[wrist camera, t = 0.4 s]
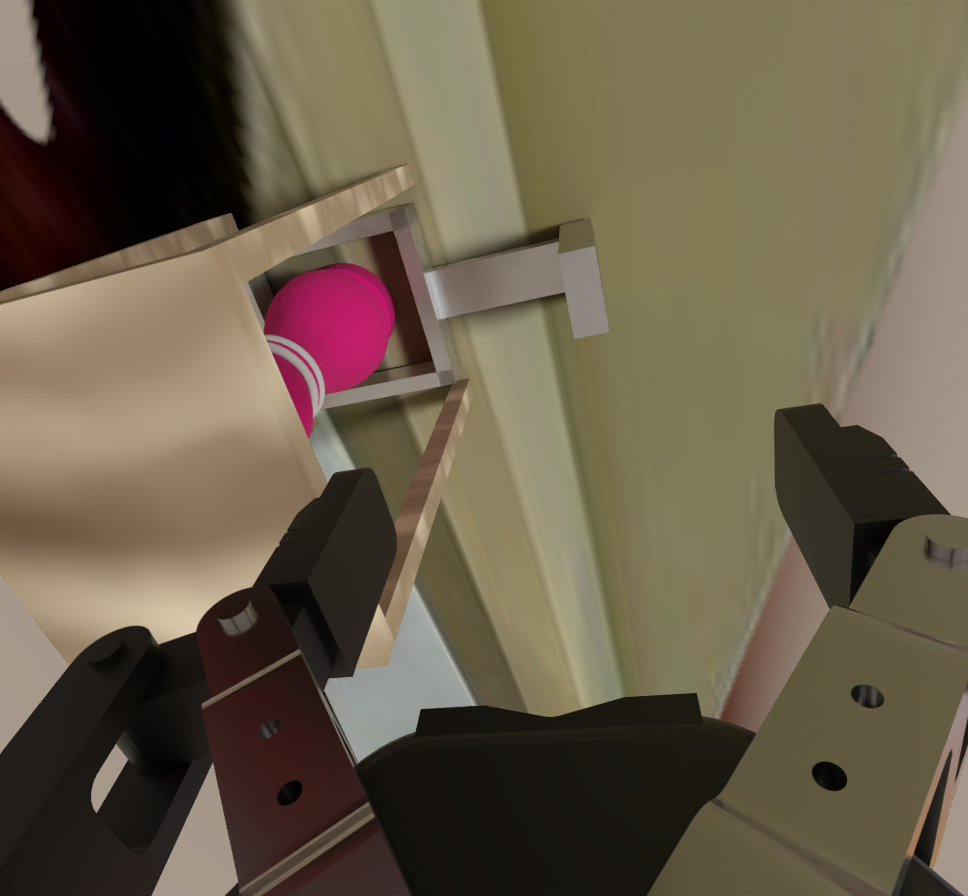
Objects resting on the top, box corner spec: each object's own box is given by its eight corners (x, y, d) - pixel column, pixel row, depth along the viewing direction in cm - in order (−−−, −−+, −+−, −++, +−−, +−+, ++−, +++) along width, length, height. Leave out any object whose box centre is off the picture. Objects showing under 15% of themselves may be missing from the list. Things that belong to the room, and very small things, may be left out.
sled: (238, 248, 41) (171, 279, 34) (580, 158, 36) (582, 173, 29) (302, 400, 46) (254, 455, 39) (610, 339, 41) (619, 390, 34)
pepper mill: (422, 293, 41) (314, 438, 24) (375, 379, 44) (251, 561, 27) (322, 232, 40) (132, 338, 23) (282, 326, 43) (90, 479, 26)
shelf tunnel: (214, 217, 40) (-172, 350, 19) (408, 163, 37) (202, 251, 16) (303, 426, 47) (89, 692, 26) (473, 394, 44) (387, 665, 23)
